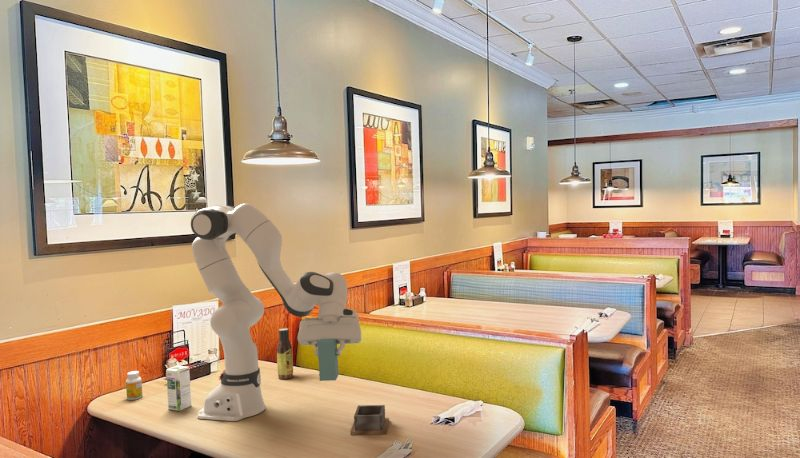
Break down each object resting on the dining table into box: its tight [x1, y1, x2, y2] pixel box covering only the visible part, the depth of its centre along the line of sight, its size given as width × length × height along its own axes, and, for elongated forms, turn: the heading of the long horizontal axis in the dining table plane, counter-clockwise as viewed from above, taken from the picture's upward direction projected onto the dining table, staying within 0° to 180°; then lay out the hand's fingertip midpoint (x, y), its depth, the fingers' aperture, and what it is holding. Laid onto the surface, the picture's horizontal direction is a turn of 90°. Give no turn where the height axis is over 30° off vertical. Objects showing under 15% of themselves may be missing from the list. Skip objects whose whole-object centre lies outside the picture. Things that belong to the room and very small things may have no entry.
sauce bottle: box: [276, 327, 294, 380], centre depth 224 cm, size 6×6×20 cm
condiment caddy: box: [350, 404, 390, 436], centre depth 171 cm, size 11×10×6 cm
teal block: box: [317, 338, 340, 382], centre depth 171 cm, size 5×5×12 cm
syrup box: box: [165, 365, 192, 412], centre depth 196 cm, size 6×6×14 cm
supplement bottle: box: [125, 370, 144, 401], centre depth 208 cm, size 5×5×10 cm
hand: (327, 355), depth 170 cm, fingers closed on teal block, 5 cm apart
